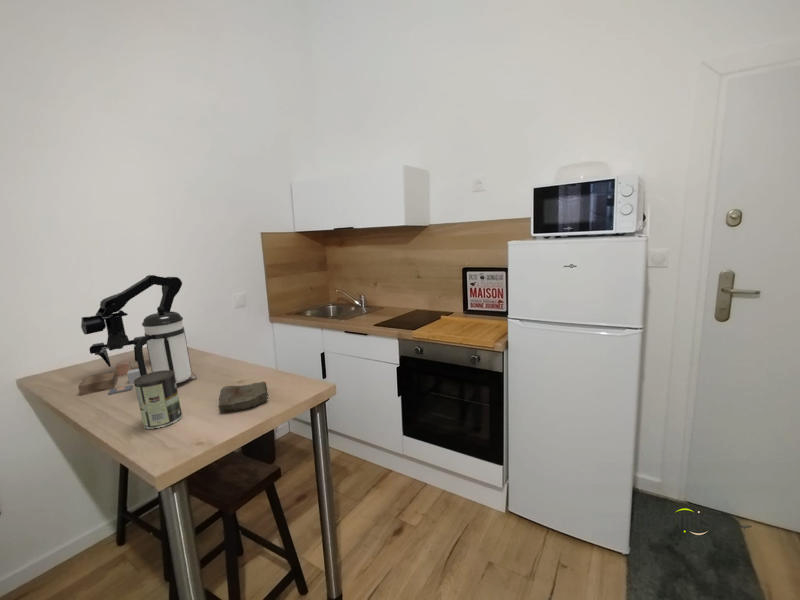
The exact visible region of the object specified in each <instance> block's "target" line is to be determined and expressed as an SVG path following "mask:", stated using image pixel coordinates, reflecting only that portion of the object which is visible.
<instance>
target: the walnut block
mask: <svg viewBox="0 0 800 600" xmlns="http://www.w3.org/2000/svg"><path fill="white" fill-rule="evenodd" d="M117 382H118V375H117V371H114V372H108V373H103V374H98V375H93V376H88V377H84V378H83V379H82V381H80V383H79V384H78V390H79V395H80V396H86V395H92V394H95V393H100V392H106V391H110V389H114V388H116V386H117Z"/></svg>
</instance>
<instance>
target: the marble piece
mask: <svg viewBox="0 0 800 600" xmlns="http://www.w3.org/2000/svg"><path fill="white" fill-rule="evenodd" d="M267 386H268V385H267V383H266V381H261V382H254V383H251V384H244V385H225V386H223V387H221V390H220V391H219V397H218V401H219V402H218V409H219V412H220V413H221V414H222V412H223V413H226V411H229V412H236V411H235V410H237V411H240V410H246V409H249V408H254V407H257V406H259V405H260V404H259V403H261V402H263V401H265V400H267V399H268V400H269V393H268V394H267V390H268V387H267ZM267 396H268V397H267ZM265 402H266V401H265ZM263 403H264V402H263ZM258 404H259V405H258ZM261 404H262V403H261ZM256 405H257V406H256Z"/></svg>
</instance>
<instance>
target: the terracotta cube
mask: <svg viewBox="0 0 800 600" xmlns="http://www.w3.org/2000/svg"><path fill="white" fill-rule="evenodd" d="M115 370H116V371H115V372H116V375H117V377H119V376H125V374H126V375H127V373H128V371H129V370H133V369H132V365H131V361H130V360H128V361H121V362H117V363H116V364H115Z"/></svg>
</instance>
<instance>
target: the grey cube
mask: <svg viewBox="0 0 800 600" xmlns="http://www.w3.org/2000/svg"><path fill="white" fill-rule="evenodd" d="M126 375H127V379H128V383H129V385H134V380H135V379H136V378H138V377H140V376H141V375H140V372H139V368H134V369H132V370H129V371H128V373H127V374H126Z"/></svg>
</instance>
